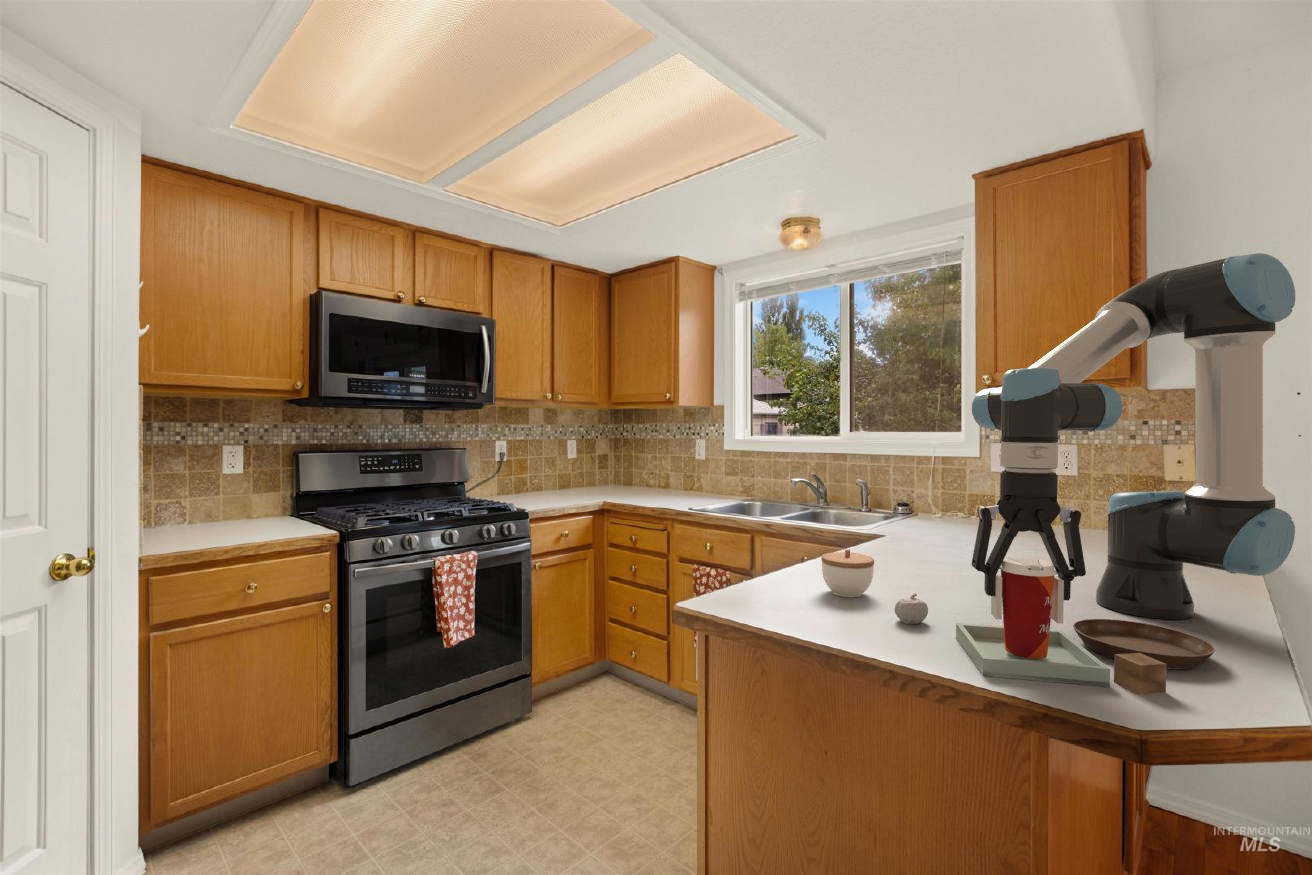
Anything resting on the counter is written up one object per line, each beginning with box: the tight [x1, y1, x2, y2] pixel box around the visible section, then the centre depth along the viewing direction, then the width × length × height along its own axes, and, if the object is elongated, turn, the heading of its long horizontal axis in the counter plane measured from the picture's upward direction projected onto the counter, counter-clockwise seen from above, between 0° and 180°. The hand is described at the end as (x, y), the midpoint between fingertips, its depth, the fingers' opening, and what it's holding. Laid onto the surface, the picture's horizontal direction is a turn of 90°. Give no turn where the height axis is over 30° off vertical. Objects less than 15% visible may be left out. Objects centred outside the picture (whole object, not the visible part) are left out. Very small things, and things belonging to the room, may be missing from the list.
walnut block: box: [1113, 653, 1167, 695], centre depth 85 cm, size 4×4×4 cm
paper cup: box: [999, 556, 1058, 659], centre depth 95 cm, size 8×8×14 cm
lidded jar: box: [820, 548, 875, 598], centre depth 131 cm, size 11×11×9 cm
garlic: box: [894, 593, 929, 625], centre depth 113 cm, size 6×5×5 cm
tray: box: [955, 622, 1111, 688], centre depth 95 cm, size 16×16×2 cm
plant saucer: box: [1072, 618, 1216, 670], centre depth 98 cm, size 18×18×3 cm
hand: (1026, 618), depth 95 cm, fingers closed on paper cup, 8 cm apart
